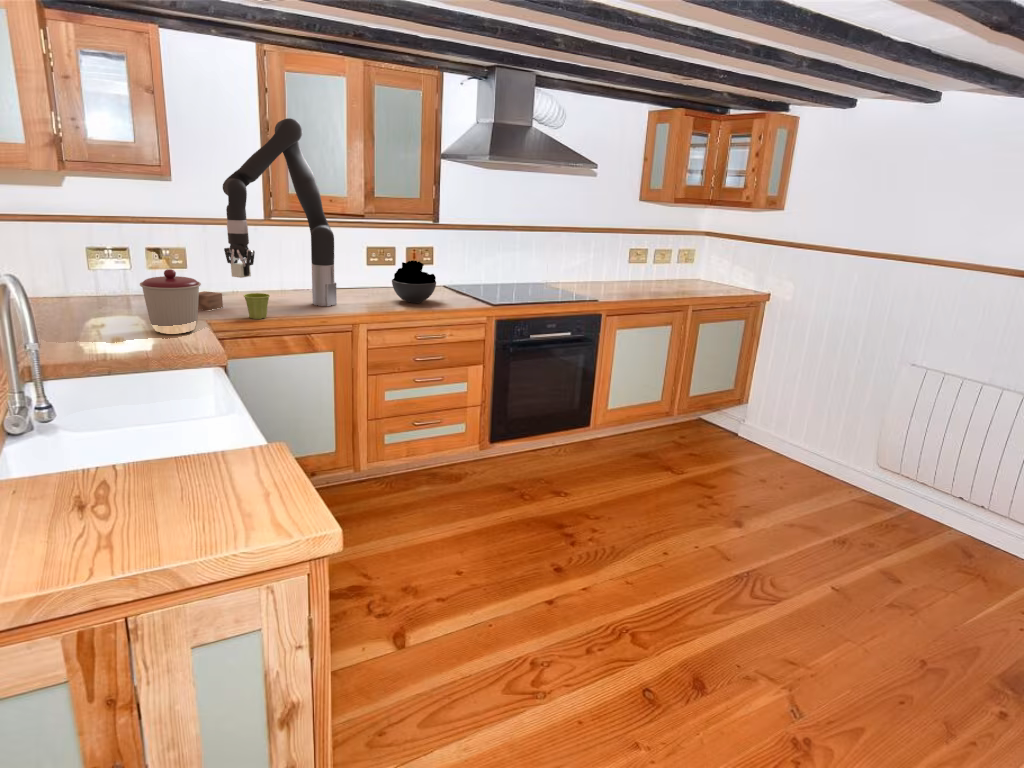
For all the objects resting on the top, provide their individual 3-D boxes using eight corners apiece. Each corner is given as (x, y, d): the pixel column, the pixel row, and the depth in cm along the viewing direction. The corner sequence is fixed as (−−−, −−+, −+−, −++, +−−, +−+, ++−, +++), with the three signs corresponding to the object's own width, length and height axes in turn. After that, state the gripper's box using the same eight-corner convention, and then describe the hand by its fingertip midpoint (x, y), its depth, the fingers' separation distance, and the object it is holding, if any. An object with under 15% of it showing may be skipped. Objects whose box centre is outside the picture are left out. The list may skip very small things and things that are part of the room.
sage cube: (250, 276, 261) (249, 263, 260) (241, 277, 257) (240, 265, 256) (241, 275, 263) (240, 262, 262) (231, 276, 259) (230, 263, 257)
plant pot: (243, 320, 243) (242, 297, 241) (245, 314, 252) (244, 292, 249) (270, 320, 246) (269, 297, 243) (271, 315, 254) (270, 293, 252)
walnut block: (222, 308, 261) (222, 293, 259) (209, 311, 254) (208, 296, 252) (205, 305, 263) (204, 291, 261) (191, 309, 255) (190, 294, 254)
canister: (133, 331, 218) (126, 268, 211) (183, 323, 232) (178, 264, 226) (165, 340, 209) (159, 275, 203) (215, 332, 224) (211, 270, 218)
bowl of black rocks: (427, 298, 312) (428, 258, 306) (441, 306, 295) (443, 264, 289) (386, 298, 303) (386, 258, 297) (399, 307, 286) (399, 264, 280)
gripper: (259, 232, 256) (262, 276, 261) (231, 229, 261) (234, 272, 266) (244, 233, 249) (247, 278, 254) (216, 230, 254) (220, 274, 259)
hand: (241, 274), depth 260 cm, fingers closed on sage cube, 5 cm apart
